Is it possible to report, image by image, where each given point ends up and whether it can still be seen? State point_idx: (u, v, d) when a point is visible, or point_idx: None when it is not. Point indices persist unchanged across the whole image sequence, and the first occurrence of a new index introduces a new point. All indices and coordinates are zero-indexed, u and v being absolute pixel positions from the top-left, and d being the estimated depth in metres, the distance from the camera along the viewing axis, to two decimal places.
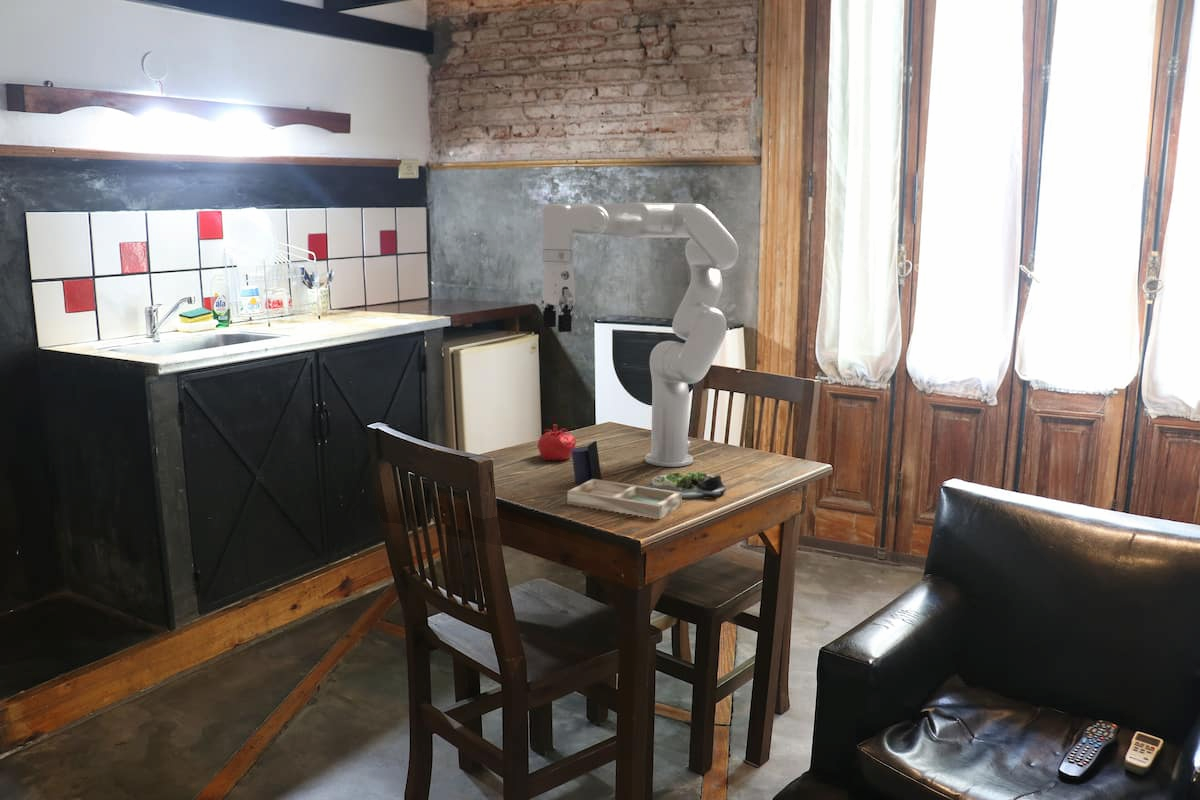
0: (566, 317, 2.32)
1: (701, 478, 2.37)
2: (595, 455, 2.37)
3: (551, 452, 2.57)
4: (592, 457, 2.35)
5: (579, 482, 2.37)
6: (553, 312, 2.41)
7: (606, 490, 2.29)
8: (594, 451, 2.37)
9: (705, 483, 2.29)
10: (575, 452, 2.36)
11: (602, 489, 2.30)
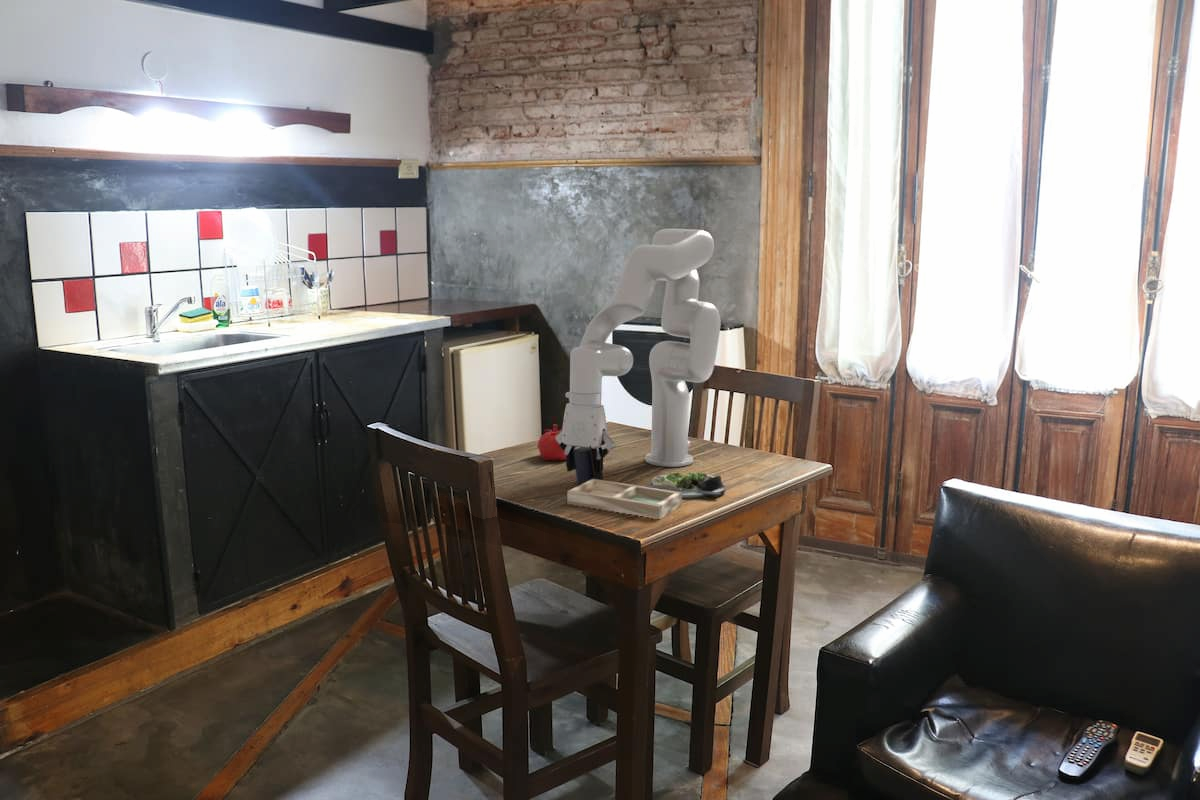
0: None
1: (701, 478, 2.37)
2: None
3: (551, 452, 2.57)
4: (594, 457, 2.35)
5: (581, 482, 2.37)
6: None
7: (606, 490, 2.29)
8: None
9: (705, 483, 2.29)
10: (577, 452, 2.36)
11: (602, 489, 2.30)
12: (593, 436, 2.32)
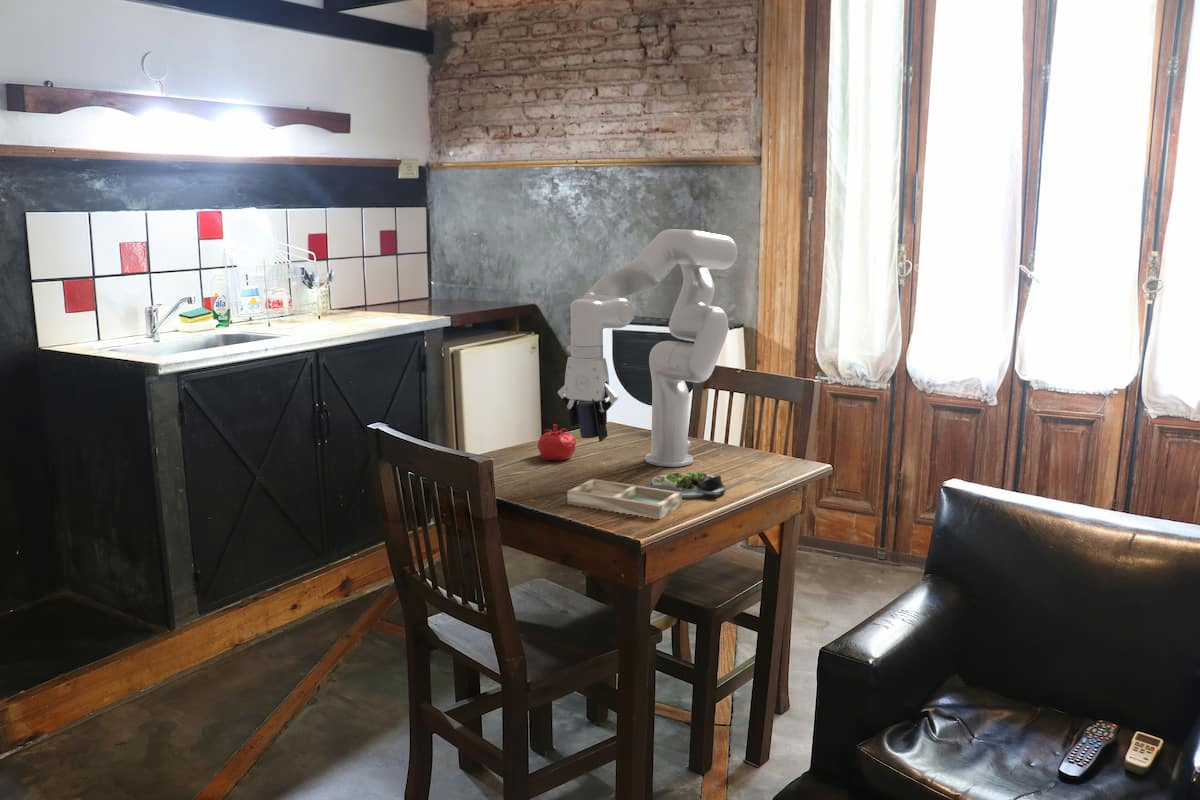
0: None
1: (701, 478, 2.37)
2: None
3: (551, 452, 2.57)
4: (597, 411, 2.33)
5: (585, 436, 2.35)
6: None
7: (606, 490, 2.29)
8: None
9: (705, 483, 2.29)
10: (580, 406, 2.34)
11: (602, 489, 2.30)
12: (596, 389, 2.30)
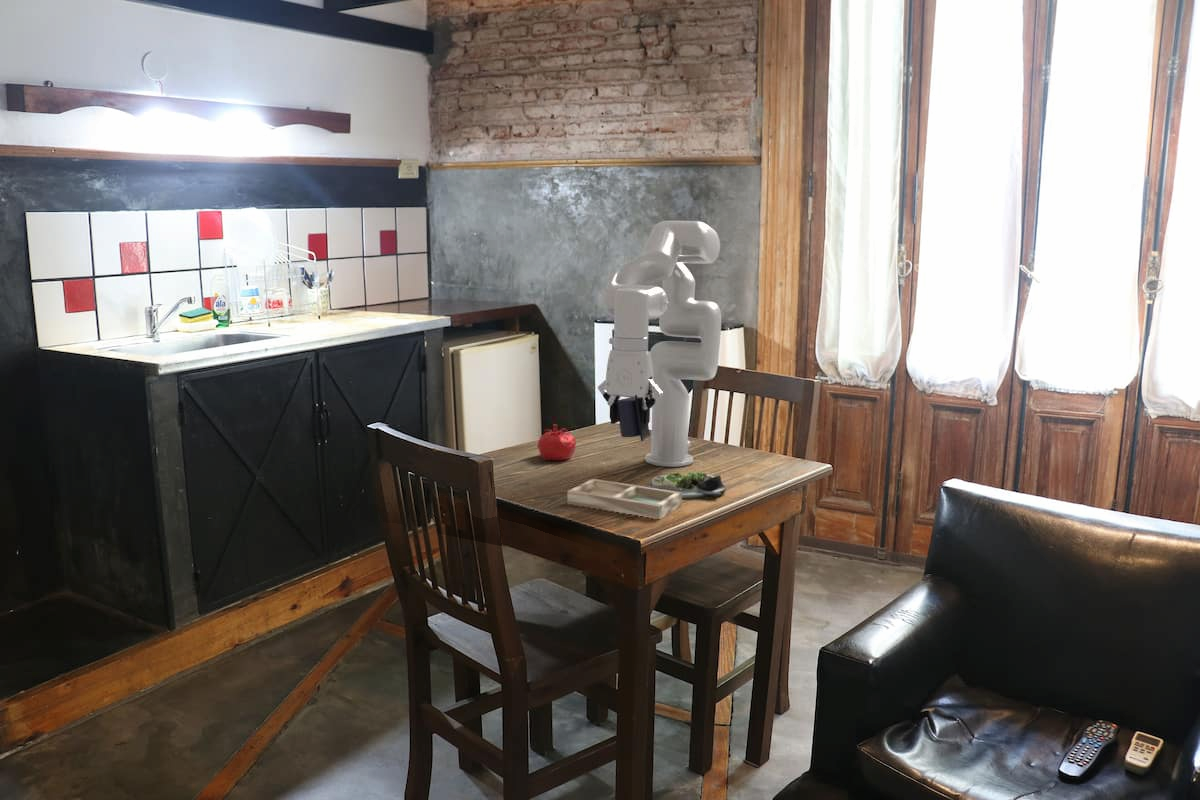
0: None
1: (701, 478, 2.37)
2: None
3: (551, 452, 2.57)
4: (640, 408, 2.18)
5: (625, 435, 2.20)
6: None
7: (606, 490, 2.29)
8: None
9: (705, 483, 2.29)
10: (621, 403, 2.19)
11: (602, 489, 2.30)
12: (639, 384, 2.15)
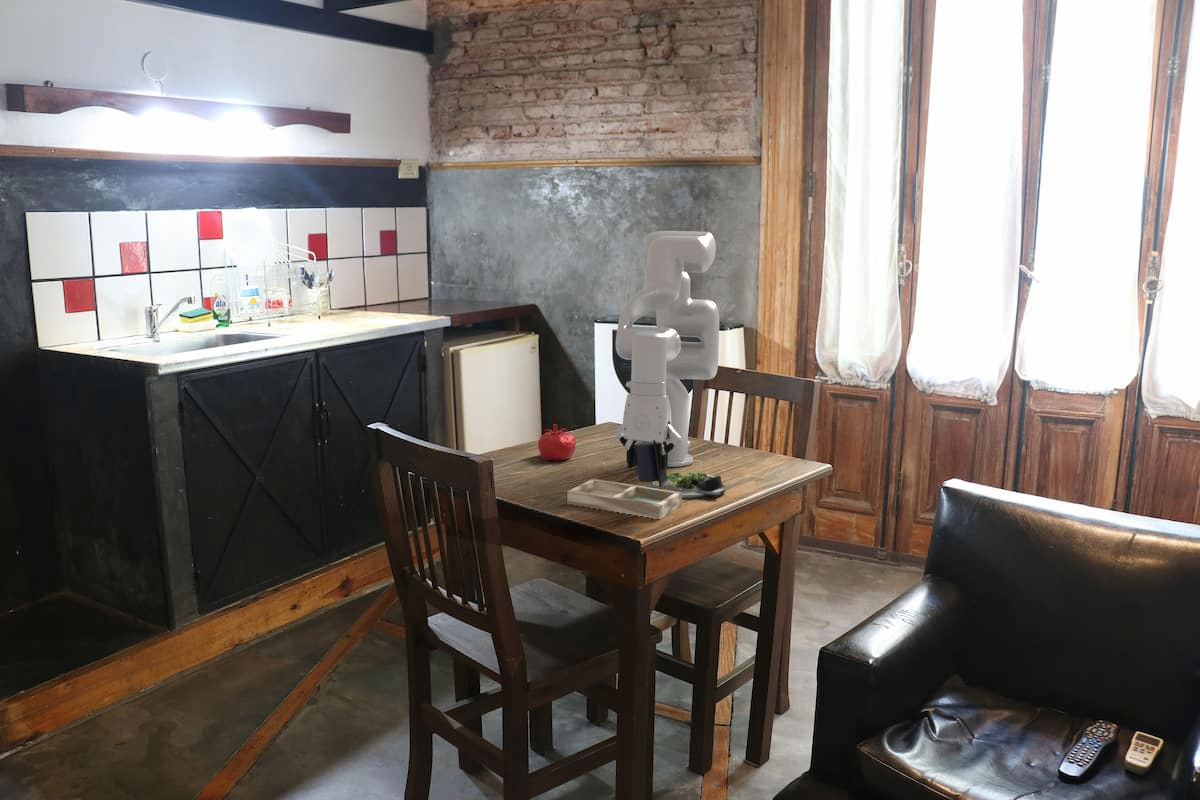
0: None
1: (701, 478, 2.37)
2: None
3: (551, 452, 2.57)
4: (658, 453, 2.14)
5: (643, 480, 2.16)
6: None
7: (606, 490, 2.29)
8: None
9: (705, 483, 2.29)
10: (639, 447, 2.15)
11: (602, 489, 2.30)
12: (658, 429, 2.12)
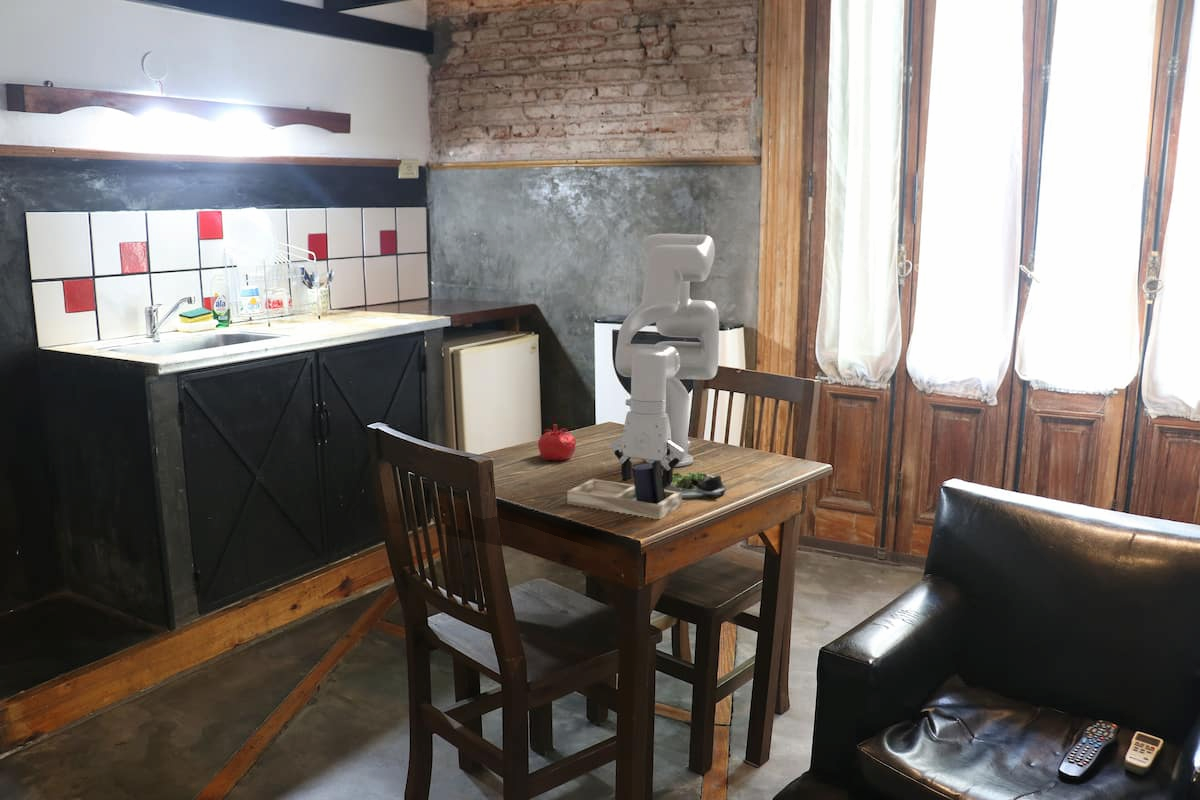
0: None
1: (701, 478, 2.37)
2: (659, 473, 2.17)
3: (551, 452, 2.57)
4: (656, 476, 2.16)
5: None
6: None
7: (606, 490, 2.29)
8: (658, 469, 2.17)
9: (705, 483, 2.29)
10: (637, 470, 2.17)
11: (602, 489, 2.30)
12: (657, 447, 2.13)
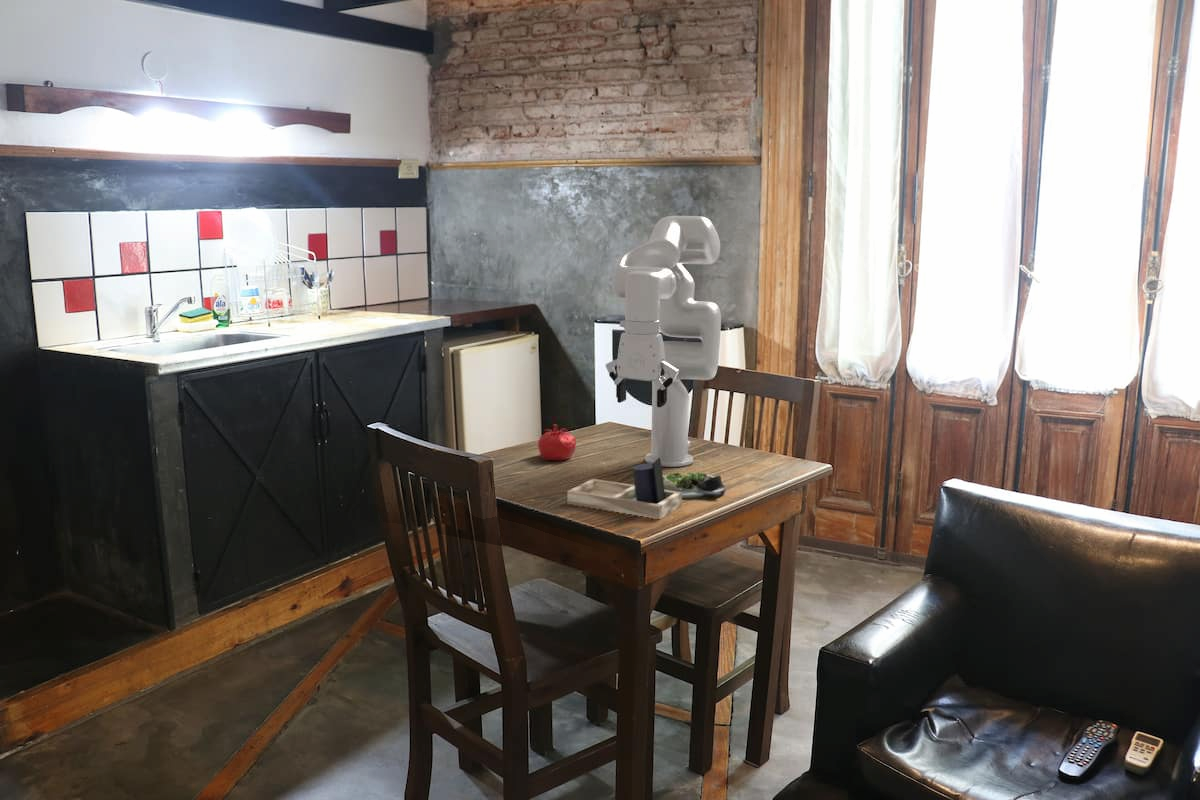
0: None
1: (701, 478, 2.37)
2: (659, 473, 2.17)
3: (551, 452, 2.57)
4: (657, 476, 2.16)
5: None
6: None
7: (606, 490, 2.29)
8: (658, 469, 2.17)
9: (705, 483, 2.29)
10: (638, 470, 2.17)
11: (602, 489, 2.30)
12: (652, 367, 2.15)
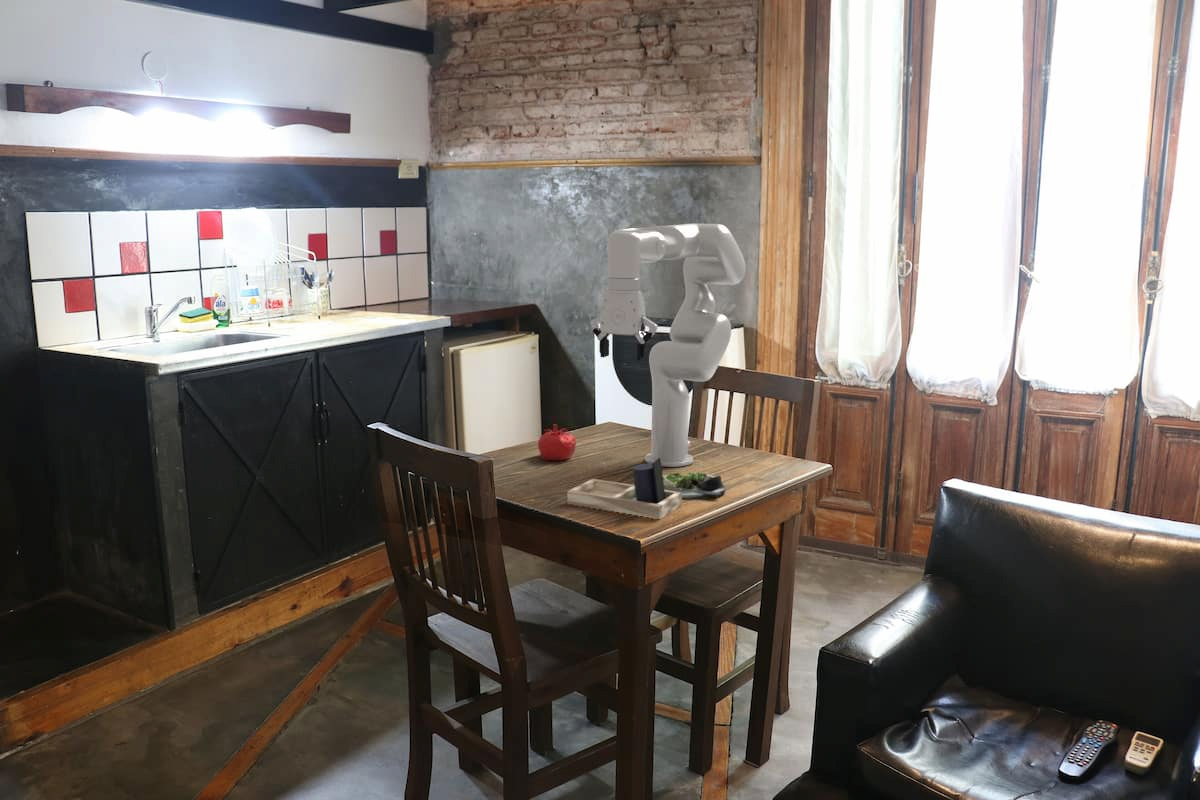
0: None
1: (701, 478, 2.37)
2: (659, 473, 2.17)
3: (551, 452, 2.57)
4: (657, 476, 2.16)
5: None
6: None
7: (606, 490, 2.29)
8: (658, 469, 2.17)
9: (705, 483, 2.29)
10: (638, 470, 2.17)
11: (602, 489, 2.30)
12: (632, 322, 2.28)
